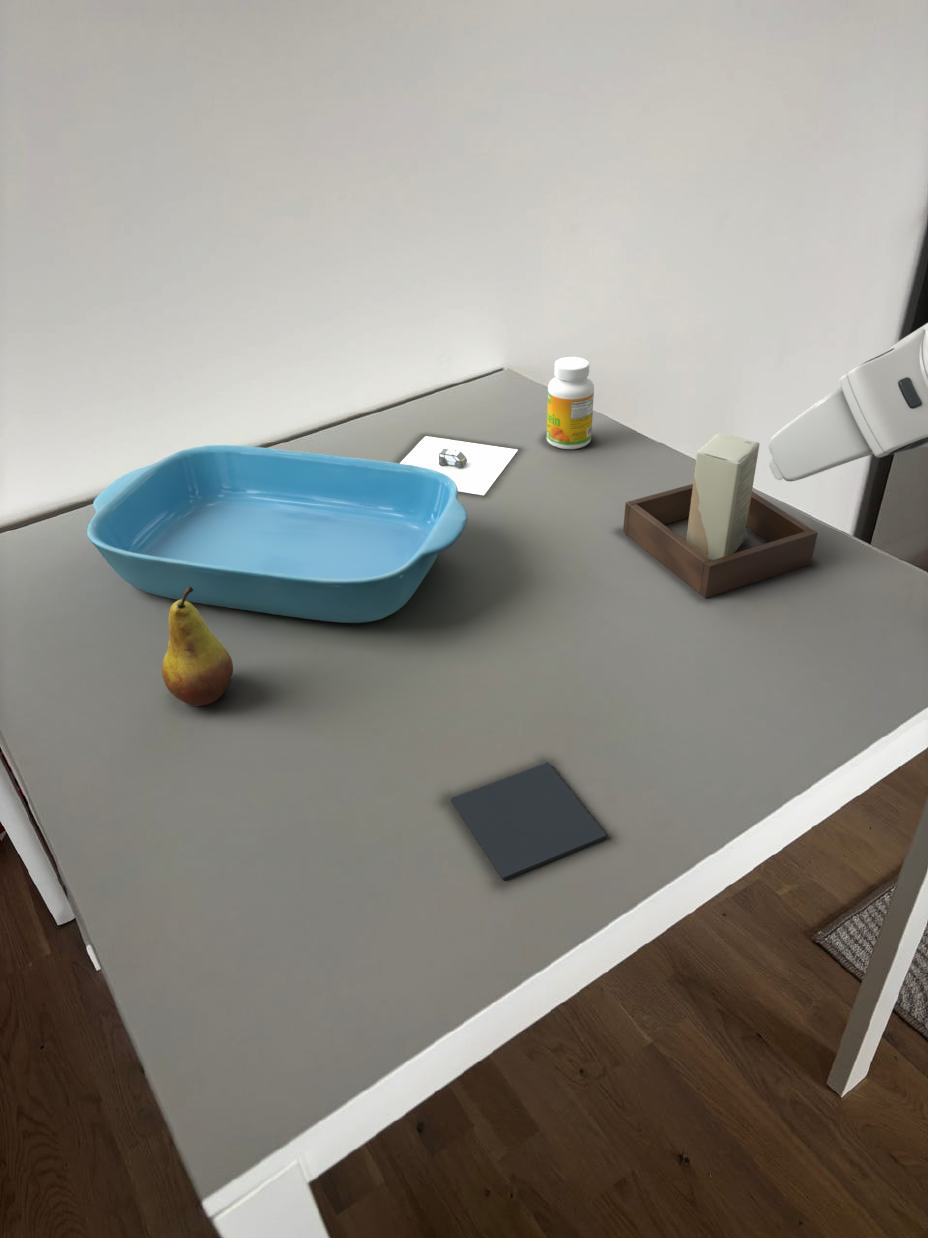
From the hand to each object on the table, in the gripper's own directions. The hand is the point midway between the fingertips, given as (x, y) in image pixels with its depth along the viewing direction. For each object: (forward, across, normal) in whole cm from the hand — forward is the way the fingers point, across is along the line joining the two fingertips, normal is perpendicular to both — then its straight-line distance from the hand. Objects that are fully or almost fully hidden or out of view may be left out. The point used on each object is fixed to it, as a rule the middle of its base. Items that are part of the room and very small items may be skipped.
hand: (816, 454), depth 83 cm
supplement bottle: (+36, -3, -16) cm, 40 cm away
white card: (+38, +12, -18) cm, 44 cm away
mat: (+3, +37, +16) cm, 41 cm away
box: (+16, +1, +3) cm, 17 cm away
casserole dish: (+31, +37, -12) cm, 50 cm away
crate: (+16, +1, +3) cm, 16 cm away
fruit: (+21, +51, -2) cm, 55 cm away
